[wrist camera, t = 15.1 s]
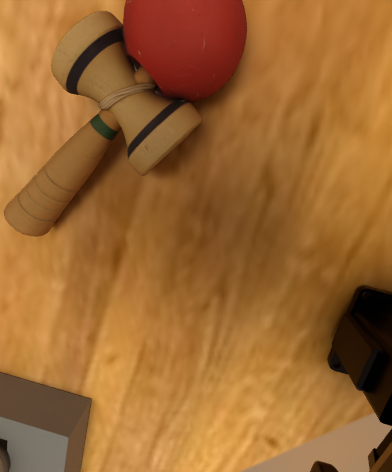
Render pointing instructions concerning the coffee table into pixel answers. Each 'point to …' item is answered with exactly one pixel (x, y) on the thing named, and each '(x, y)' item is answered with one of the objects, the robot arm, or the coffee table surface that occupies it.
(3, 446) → the peg
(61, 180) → the kendama
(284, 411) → the coffee table surface
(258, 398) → the coffee table surface
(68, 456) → the board
